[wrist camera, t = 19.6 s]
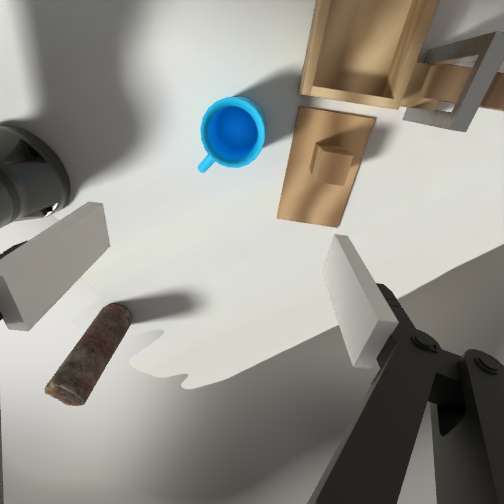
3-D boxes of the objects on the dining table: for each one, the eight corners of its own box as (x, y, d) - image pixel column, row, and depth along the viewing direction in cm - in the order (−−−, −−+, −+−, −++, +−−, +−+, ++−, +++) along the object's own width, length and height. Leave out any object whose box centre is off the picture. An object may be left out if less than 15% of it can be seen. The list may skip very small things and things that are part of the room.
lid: (276, 216, 48) (277, 236, 41) (298, 106, 39) (304, 109, 32) (336, 225, 48) (346, 247, 41) (372, 118, 39) (394, 123, 32)
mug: (238, 82, 37) (231, 80, 30) (277, 128, 40) (278, 135, 33) (186, 145, 42) (169, 155, 35) (224, 182, 45) (215, 198, 38)
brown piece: (138, 325, 64) (91, 409, 47) (111, 327, 65) (55, 410, 48) (125, 301, 61) (68, 383, 43) (97, 304, 62) (30, 385, 44)
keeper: (402, 119, 38) (449, 129, 28) (429, 49, 34) (496, 31, 24) (414, 121, 38) (465, 132, 28) (443, 51, 34) (516, 34, 24)
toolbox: (298, 93, 37) (302, 94, 32) (336, -102, 28) (350, -145, 23) (429, 114, 38) (453, 118, 33) (510, -72, 28) (562, -108, 23)
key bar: (418, 97, 31) (431, 97, 28) (430, 66, 29) (446, 63, 27) (518, 113, 31) (540, 115, 28) (536, 83, 29) (561, 82, 27)
